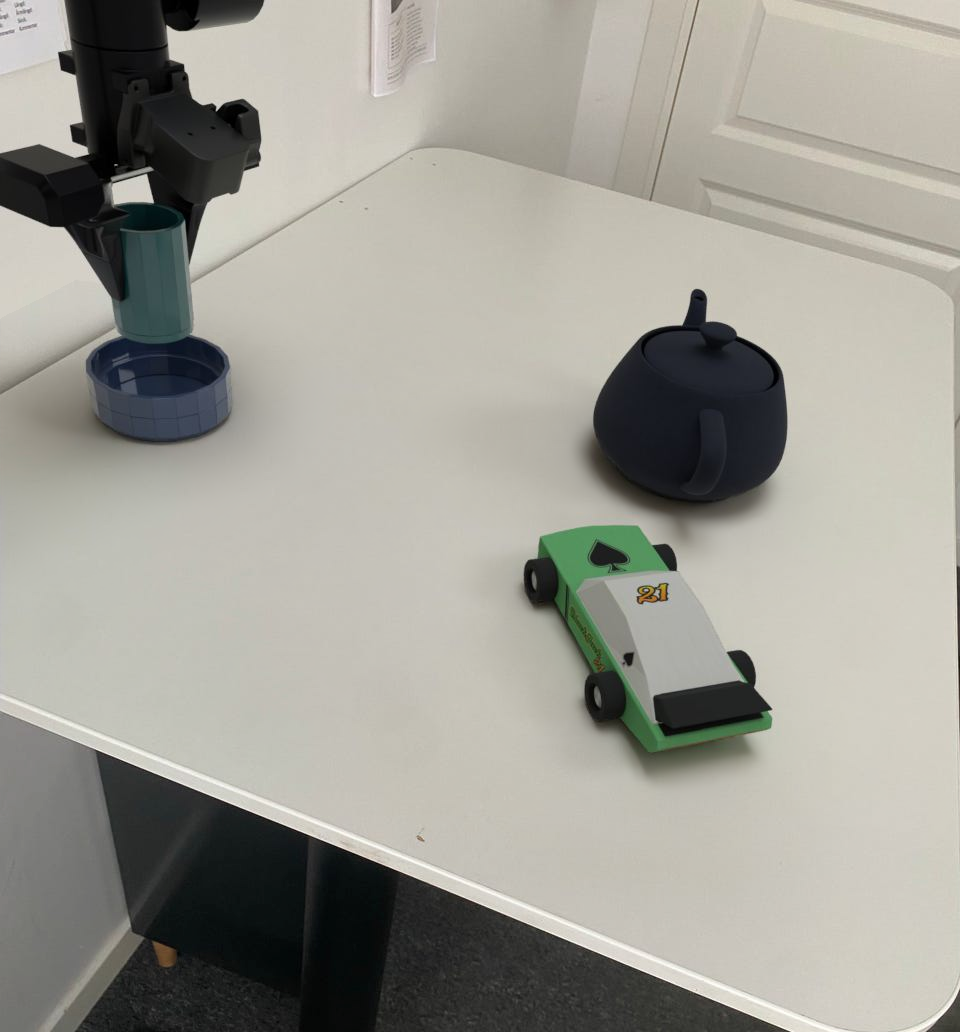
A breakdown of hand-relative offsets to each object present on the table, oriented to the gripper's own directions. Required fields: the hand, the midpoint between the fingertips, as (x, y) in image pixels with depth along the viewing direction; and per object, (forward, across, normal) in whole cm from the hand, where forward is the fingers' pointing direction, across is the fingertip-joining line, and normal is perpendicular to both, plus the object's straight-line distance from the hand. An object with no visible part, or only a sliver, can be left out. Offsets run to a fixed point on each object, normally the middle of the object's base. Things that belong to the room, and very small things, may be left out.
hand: (149, 287), depth 68 cm
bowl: (+10, 0, 0) cm, 10 cm away
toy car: (+10, -1, -43) cm, 44 cm away
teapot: (+10, +22, -36) cm, 43 cm away
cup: (+3, 0, 0) cm, 3 cm away
